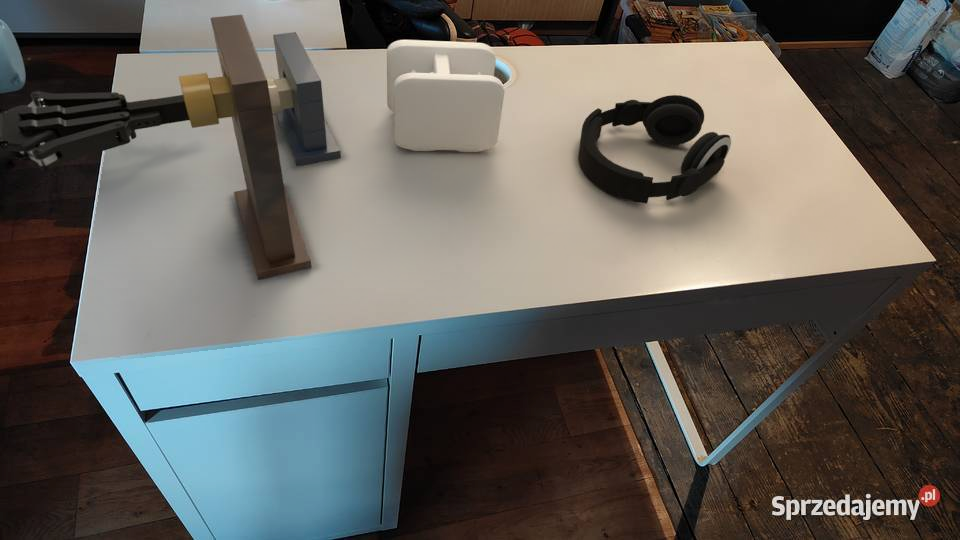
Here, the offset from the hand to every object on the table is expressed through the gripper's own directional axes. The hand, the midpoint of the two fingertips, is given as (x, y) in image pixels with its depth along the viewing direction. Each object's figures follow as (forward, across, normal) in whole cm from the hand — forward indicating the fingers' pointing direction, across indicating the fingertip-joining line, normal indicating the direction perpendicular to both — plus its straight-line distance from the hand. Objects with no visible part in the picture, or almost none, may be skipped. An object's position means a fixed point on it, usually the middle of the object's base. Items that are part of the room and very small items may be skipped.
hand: (188, 107), depth 82 cm
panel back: (+14, 0, -7) cm, 15 cm away
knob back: (+12, 0, -3) cm, 12 cm away
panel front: (+5, +18, -7) cm, 20 cm away
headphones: (+57, +21, -7) cm, 61 cm away
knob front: (+3, +18, +10) cm, 20 cm away
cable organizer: (+32, +5, -7) cm, 33 cm away
